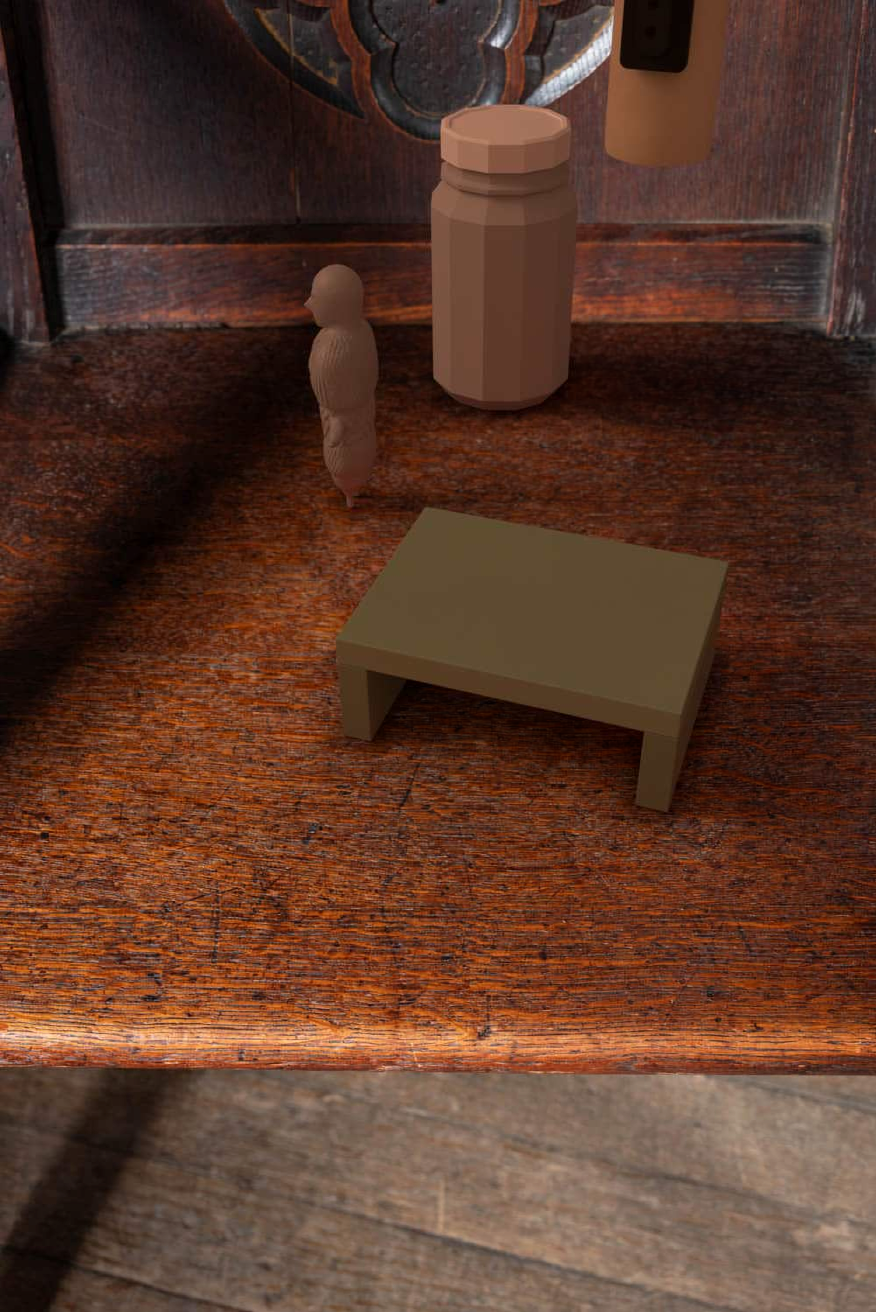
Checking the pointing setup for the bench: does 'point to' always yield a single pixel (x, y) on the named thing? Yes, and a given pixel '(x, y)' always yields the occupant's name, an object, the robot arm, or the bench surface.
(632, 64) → the robot arm
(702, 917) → the bench surface
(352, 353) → the figurine
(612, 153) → the candle
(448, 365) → the jar
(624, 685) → the shelf
